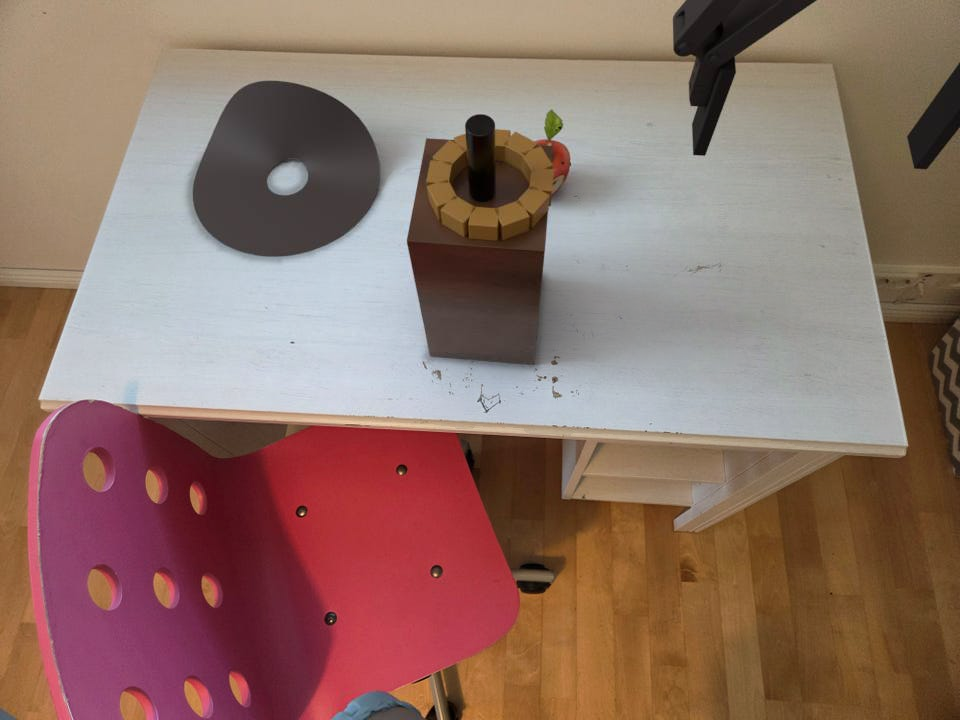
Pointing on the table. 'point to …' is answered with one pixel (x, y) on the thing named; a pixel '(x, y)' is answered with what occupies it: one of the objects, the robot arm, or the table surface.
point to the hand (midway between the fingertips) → (806, 146)
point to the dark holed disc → (267, 141)
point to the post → (481, 157)
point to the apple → (556, 150)
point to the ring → (491, 220)
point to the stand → (477, 274)
